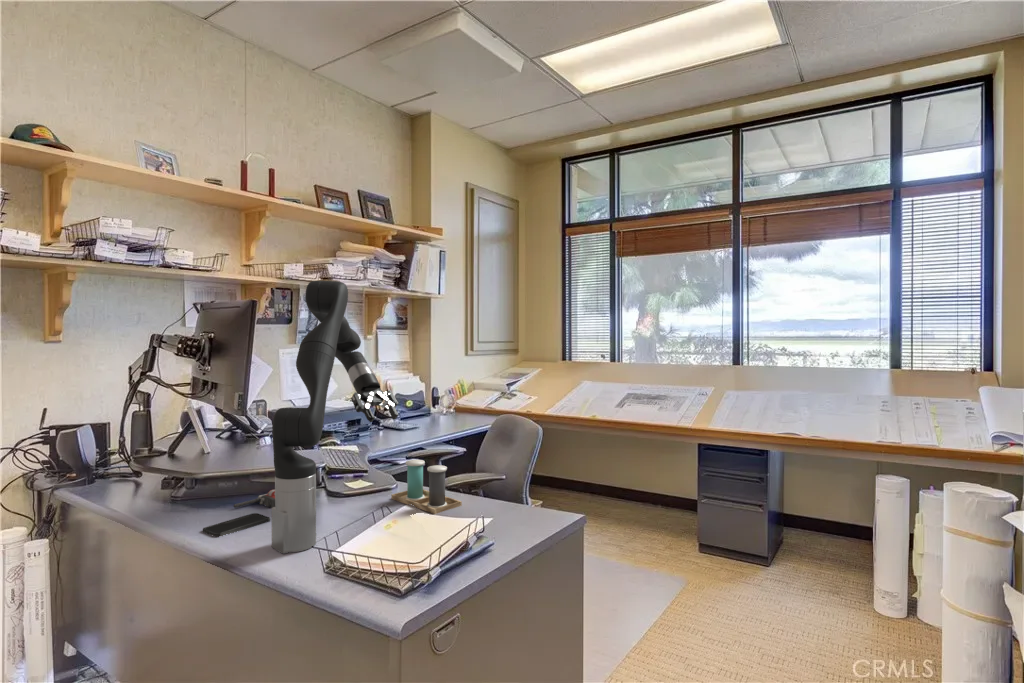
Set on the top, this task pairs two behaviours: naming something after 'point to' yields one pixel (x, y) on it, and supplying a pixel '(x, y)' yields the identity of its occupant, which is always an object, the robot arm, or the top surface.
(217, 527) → the phone
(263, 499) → the red grey long piece
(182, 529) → the top surface
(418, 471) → the teal spool
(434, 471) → the black spool
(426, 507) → the tray
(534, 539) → the top surface
